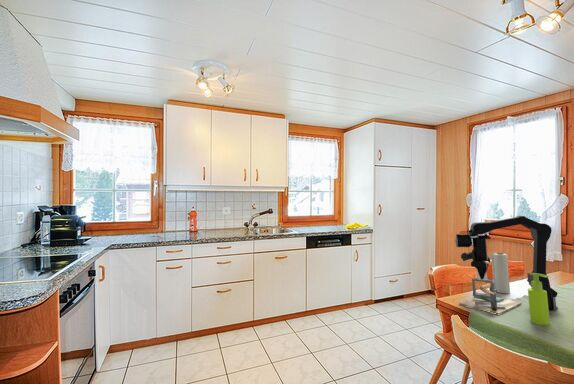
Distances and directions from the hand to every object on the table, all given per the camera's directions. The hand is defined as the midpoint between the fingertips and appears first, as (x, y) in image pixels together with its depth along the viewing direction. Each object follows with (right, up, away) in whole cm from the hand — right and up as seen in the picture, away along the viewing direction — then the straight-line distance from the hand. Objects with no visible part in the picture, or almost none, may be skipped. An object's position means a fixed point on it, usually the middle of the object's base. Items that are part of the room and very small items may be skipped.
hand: (482, 278), depth 139 cm
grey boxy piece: (0, -9, -1) cm, 9 cm away
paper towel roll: (+23, -13, +15) cm, 30 cm away
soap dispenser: (+6, -10, -26) cm, 28 cm away
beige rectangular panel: (+1, -12, -4) cm, 12 cm away
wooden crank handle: (+2, -11, -4) cm, 12 cm away
